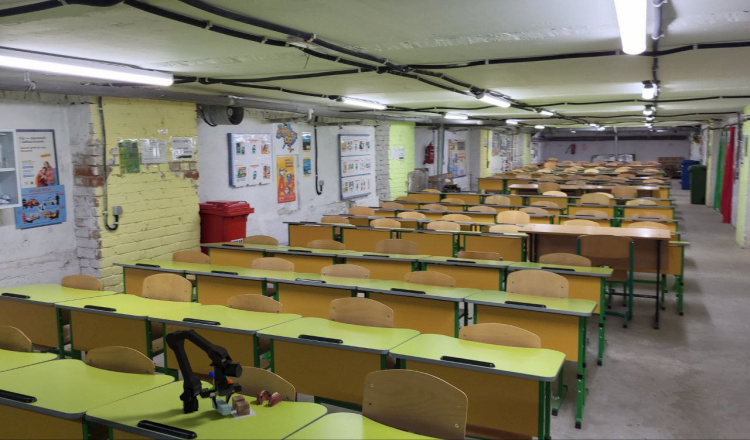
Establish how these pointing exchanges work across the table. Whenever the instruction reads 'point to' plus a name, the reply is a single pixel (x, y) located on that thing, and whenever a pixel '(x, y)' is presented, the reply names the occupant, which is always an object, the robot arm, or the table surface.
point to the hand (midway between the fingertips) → (221, 407)
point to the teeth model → (268, 398)
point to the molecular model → (211, 374)
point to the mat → (241, 416)
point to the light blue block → (222, 406)
